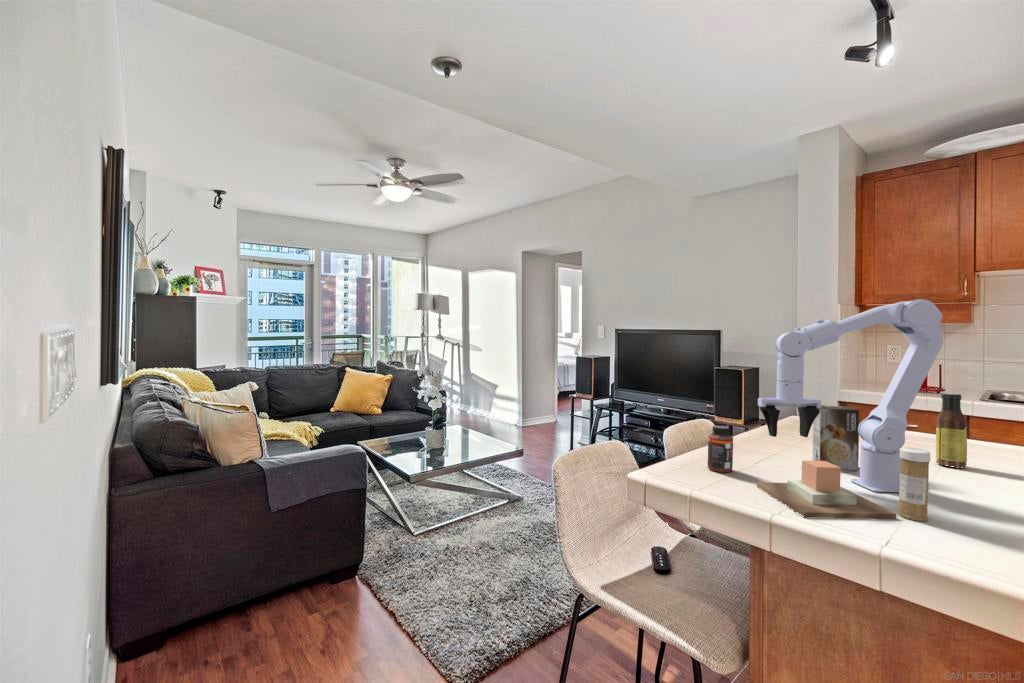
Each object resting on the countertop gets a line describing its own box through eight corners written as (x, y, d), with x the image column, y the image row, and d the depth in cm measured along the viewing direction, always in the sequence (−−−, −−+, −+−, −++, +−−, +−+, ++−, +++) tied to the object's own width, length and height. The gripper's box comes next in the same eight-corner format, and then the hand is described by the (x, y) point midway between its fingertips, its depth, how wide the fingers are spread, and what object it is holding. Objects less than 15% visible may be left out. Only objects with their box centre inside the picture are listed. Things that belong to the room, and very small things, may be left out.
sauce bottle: (973, 469, 127) (976, 395, 127) (949, 469, 127) (952, 395, 127) (950, 462, 134) (953, 392, 133) (928, 462, 134) (931, 391, 133)
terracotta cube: (824, 483, 105) (825, 460, 104) (839, 491, 100) (840, 467, 99) (801, 483, 105) (802, 460, 104) (815, 490, 100) (816, 467, 99)
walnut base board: (834, 487, 111) (834, 475, 111) (896, 518, 93) (896, 503, 93) (756, 486, 111) (757, 473, 111) (803, 517, 93) (804, 502, 93)
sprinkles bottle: (931, 518, 93) (933, 450, 93) (923, 523, 91) (926, 453, 90) (902, 511, 97) (904, 445, 97) (893, 515, 94) (896, 448, 94)
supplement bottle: (735, 474, 121) (736, 429, 120) (710, 472, 122) (711, 428, 121) (729, 467, 126) (730, 424, 126) (705, 465, 128) (706, 423, 127)
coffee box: (849, 464, 131) (851, 406, 130) (858, 471, 124) (861, 410, 124) (811, 461, 133) (813, 404, 133) (818, 467, 127) (820, 407, 127)
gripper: (809, 379, 121) (807, 432, 122) (752, 378, 121) (750, 432, 122) (827, 383, 114) (825, 439, 115) (767, 382, 114) (765, 438, 115)
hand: (788, 436), depth 118 cm, fingers open, 7 cm apart
